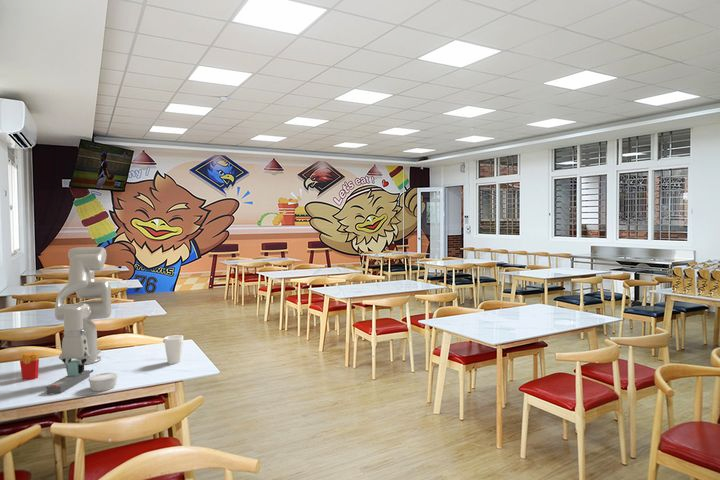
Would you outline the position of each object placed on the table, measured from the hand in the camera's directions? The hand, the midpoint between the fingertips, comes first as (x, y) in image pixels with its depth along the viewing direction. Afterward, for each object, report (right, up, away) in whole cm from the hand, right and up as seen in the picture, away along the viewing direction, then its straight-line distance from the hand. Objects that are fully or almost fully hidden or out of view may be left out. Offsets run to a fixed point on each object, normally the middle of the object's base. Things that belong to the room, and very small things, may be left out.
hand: (75, 372), depth 218 cm
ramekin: (+18, -4, -10) cm, 21 cm away
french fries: (-24, -4, +5) cm, 25 cm away
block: (0, -3, 0) cm, 3 cm away
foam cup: (+35, -3, +27) cm, 44 cm away
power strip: (0, -4, -1) cm, 4 cm away
